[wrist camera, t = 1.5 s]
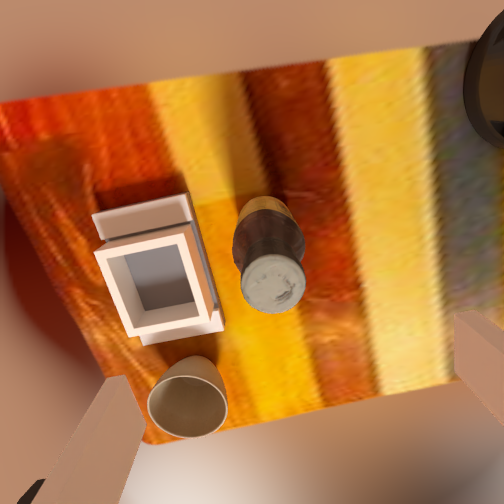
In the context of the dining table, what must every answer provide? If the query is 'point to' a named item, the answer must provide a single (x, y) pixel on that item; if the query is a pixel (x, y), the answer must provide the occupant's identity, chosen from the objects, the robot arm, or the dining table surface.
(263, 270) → the sauce bottle
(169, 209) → the caddy
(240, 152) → the dining table surface
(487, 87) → the robot arm
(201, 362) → the flower pot
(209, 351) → the dining table surface
